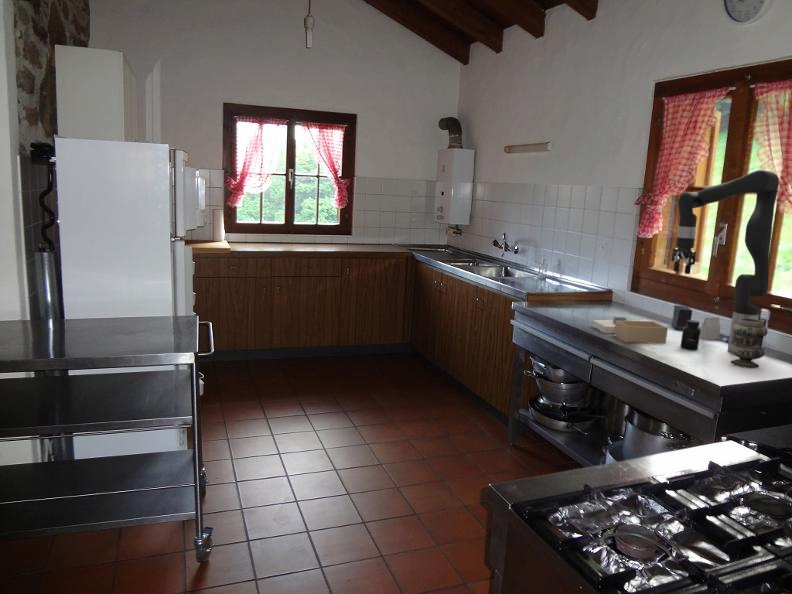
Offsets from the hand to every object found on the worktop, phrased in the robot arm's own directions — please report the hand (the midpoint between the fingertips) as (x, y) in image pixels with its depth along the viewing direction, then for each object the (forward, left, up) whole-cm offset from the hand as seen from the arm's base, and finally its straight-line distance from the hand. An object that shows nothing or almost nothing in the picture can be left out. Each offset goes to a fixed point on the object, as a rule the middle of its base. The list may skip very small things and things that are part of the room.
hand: (681, 272), depth 285 cm
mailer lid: (+6, +24, -29) cm, 38 cm away
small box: (+14, -12, -29) cm, 35 cm away
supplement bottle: (-24, +7, -29) cm, 39 cm away
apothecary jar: (-47, -2, -29) cm, 56 cm away
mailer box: (-10, +22, -29) cm, 38 cm away
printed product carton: (-6, -14, -29) cm, 33 cm away
